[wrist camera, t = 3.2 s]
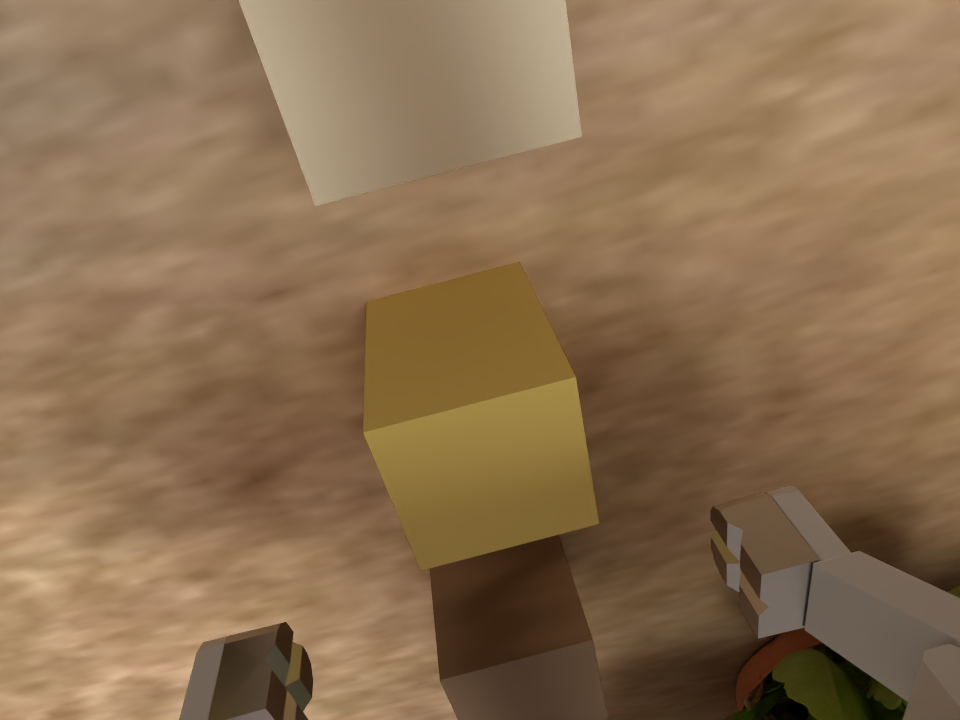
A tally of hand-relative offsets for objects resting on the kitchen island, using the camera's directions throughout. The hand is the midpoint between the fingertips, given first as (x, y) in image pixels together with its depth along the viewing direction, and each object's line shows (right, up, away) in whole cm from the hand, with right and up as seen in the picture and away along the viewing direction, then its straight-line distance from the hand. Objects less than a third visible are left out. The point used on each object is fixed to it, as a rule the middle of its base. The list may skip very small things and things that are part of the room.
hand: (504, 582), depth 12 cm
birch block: (-2, +12, +2) cm, 13 cm away
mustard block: (-1, +5, +7) cm, 9 cm away
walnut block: (0, -3, +12) cm, 13 cm away
